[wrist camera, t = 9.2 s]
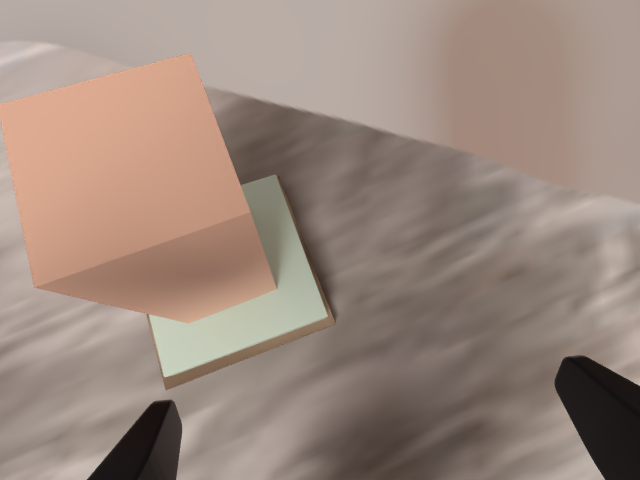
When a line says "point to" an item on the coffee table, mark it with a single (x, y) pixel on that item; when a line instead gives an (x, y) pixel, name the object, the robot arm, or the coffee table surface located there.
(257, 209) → the tower top slab
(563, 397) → the robot arm
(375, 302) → the coffee table surface
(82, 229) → the tall block
